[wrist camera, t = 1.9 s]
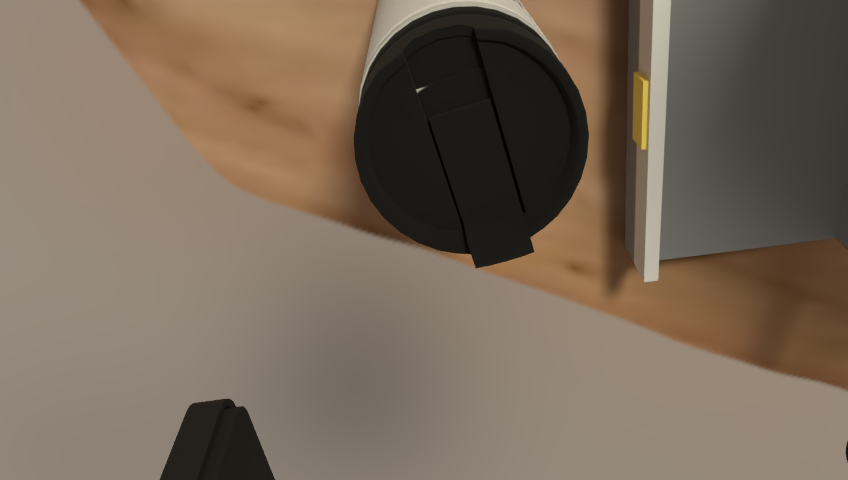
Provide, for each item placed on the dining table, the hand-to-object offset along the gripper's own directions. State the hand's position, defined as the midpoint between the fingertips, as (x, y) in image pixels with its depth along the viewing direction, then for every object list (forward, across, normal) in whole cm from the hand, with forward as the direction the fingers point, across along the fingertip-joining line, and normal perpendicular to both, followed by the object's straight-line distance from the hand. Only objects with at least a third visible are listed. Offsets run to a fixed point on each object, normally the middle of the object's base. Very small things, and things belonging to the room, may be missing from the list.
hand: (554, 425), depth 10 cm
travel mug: (+29, 0, -1) cm, 29 cm away
